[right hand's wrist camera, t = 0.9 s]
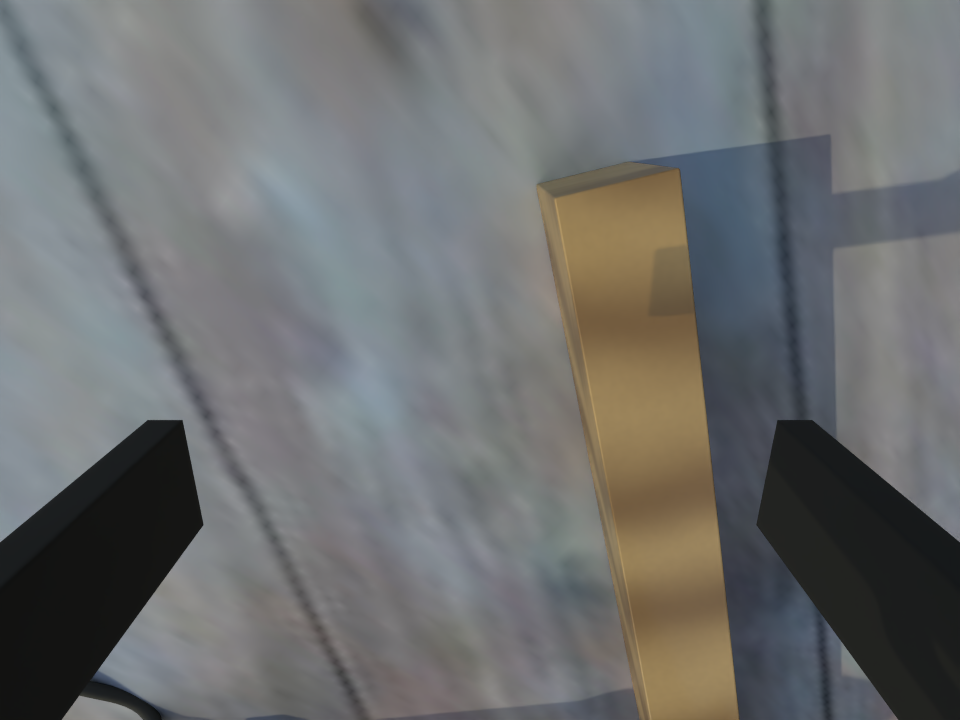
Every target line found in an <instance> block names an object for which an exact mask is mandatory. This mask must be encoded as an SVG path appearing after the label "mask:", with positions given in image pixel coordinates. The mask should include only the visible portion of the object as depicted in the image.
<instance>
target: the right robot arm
mask: <svg viewBox="0 0 960 720" xmlns="http://www.w3.org/2000/svg"><path fill="white" fill-rule="evenodd" d="M202 526H203V520H202V515H201V510H200V505H199V500H198V495H197V490H196V485H195V480H194V475H193V470H192V465H191V460H190V455H189V450H188V445H187V440H186V435H185V430H184V425H183V420H147V421H146V422H145V423H144V424H143V425H141V426H140V427H139V428H138V429H137V430H135V431H134V432H133V433H132V434H131V435H129V436H128V437H127V438H126V439H124V440H123V441H122V442H121V443H120V444H118V445H117V446H116V447H115V448H114V449H112V450H111V451H110V452H109V453H108V454H106V455H105V456H104V457H103V458H102V459H100V460H99V461H98V462H97V463H96V464H94V465H93V466H92V467H91V468H89V469H88V470H87V471H86V472H85V473H83V474H82V475H81V476H80V477H79V478H77V479H76V480H75V481H74V482H73V483H71V484H70V485H69V486H68V487H67V488H65V489H64V490H63V491H62V492H61V493H59V494H58V495H57V496H56V497H54V498H53V499H52V500H51V501H50V502H48V503H47V504H46V505H45V506H44V507H42V508H41V509H40V510H39V511H38V512H36V513H35V514H34V515H33V516H32V517H30V518H29V519H28V520H27V521H26V522H24V523H23V524H22V525H21V526H19V527H18V528H17V529H16V530H15V531H13V532H12V533H11V534H10V535H9V536H7V537H6V538H5V539H4V540H3V541H1V542H0V720H62V718H63V717H64V716H65V714H66V713H67V712H68V710H69V709H70V707H71V706H72V705H73V703H74V702H75V701H76V699H77V698H78V696H79V695H80V694H81V692H82V691H83V690H84V688H85V687H86V685H87V684H88V683H89V681H90V680H91V679H92V677H93V676H94V675H95V673H96V672H97V670H98V669H99V668H100V666H101V665H102V664H103V662H104V661H105V659H106V658H107V657H108V655H109V654H110V653H111V651H112V650H113V648H114V647H115V646H116V644H117V643H118V642H119V640H120V639H121V637H122V636H123V635H124V633H125V632H126V631H127V629H128V628H129V626H130V625H131V624H132V622H133V621H134V620H135V618H136V617H137V615H138V614H139V613H140V611H141V610H142V609H143V607H144V606H145V604H146V603H147V602H148V600H149V599H150V598H151V596H152V595H153V593H154V592H155V591H156V589H157V588H158V587H159V585H160V584H161V582H162V581H163V580H164V578H165V577H166V576H167V574H168V573H169V571H170V570H171V569H172V567H173V566H174V565H175V563H176V562H177V560H178V559H179V558H180V556H181V555H182V554H183V552H184V551H185V550H186V548H187V547H188V545H189V544H190V543H191V541H192V540H193V539H194V537H195V536H196V534H197V533H198V532H199V530H200V529H201V528H202ZM757 526H758V528H759V529H760V530H761V532H762V533H763V534H764V536H765V537H766V539H767V540H768V541H769V543H770V544H771V545H772V547H773V548H774V549H775V551H776V552H777V554H778V555H779V556H780V558H781V559H782V560H783V562H784V563H785V565H786V566H787V567H788V569H789V570H790V571H791V573H792V574H793V576H794V577H795V578H796V580H797V581H798V582H799V584H800V585H801V587H802V588H803V589H804V591H805V592H806V593H807V595H808V596H809V598H810V599H811V600H812V602H813V603H814V604H815V606H816V607H817V609H818V610H819V611H820V613H821V614H822V615H823V617H824V618H825V620H826V621H827V622H828V624H829V625H830V626H831V628H832V629H833V631H834V632H835V633H836V635H837V636H838V637H839V639H840V640H841V642H842V643H843V644H844V646H845V647H846V648H847V650H848V651H849V653H850V654H851V655H852V657H853V658H854V659H855V661H856V662H857V664H858V665H859V666H860V668H861V669H862V670H863V672H864V673H865V674H866V676H867V677H868V679H869V680H870V681H871V683H872V684H873V685H874V687H875V688H876V690H877V691H878V692H879V694H880V695H881V696H882V698H883V699H884V701H885V702H886V703H887V705H888V706H889V707H890V709H891V710H892V712H893V713H894V714H895V716H896V717H897V718H898V720H960V542H959V541H957V540H956V539H955V538H954V537H953V536H951V535H950V534H949V533H948V532H947V531H945V530H944V529H943V528H942V527H941V526H939V525H938V524H937V523H936V522H934V521H933V520H932V519H931V518H930V517H928V516H927V515H926V514H925V513H924V512H922V511H921V510H920V509H919V508H918V507H916V506H915V505H914V504H913V503H912V502H910V501H909V500H908V499H907V498H906V497H904V496H903V495H902V494H901V493H899V492H898V491H897V490H896V489H895V488H893V487H892V486H891V485H890V484H889V483H887V482H886V481H885V480H884V479H883V478H881V477H880V476H879V475H878V474H877V473H875V472H874V471H873V470H872V469H871V468H869V467H868V466H867V465H866V464H864V463H863V462H862V461H861V460H860V459H858V458H857V457H856V456H855V455H854V454H852V453H851V452H850V451H849V450H848V449H846V448H845V447H844V446H843V445H842V444H840V443H839V442H838V441H837V440H836V439H834V438H833V437H832V436H831V435H829V434H828V433H827V432H826V431H825V430H823V429H822V428H821V427H820V426H819V425H817V424H816V423H815V422H814V421H813V420H777V425H776V430H775V435H774V440H773V445H772V450H771V455H770V460H769V465H768V470H767V475H766V480H765V485H764V490H763V495H762V500H761V505H760V510H759V515H758V520H757Z"/></svg>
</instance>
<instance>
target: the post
mask: <svg viewBox="0 0 960 720" xmlns="http://www.w3.org/2000/svg"><path fill="white" fill-rule="evenodd" d="M536 187H537V192H538V197H539V203H540V208H541V213H542V218H543V223H544V228H545V234H546V239H547V244H548V249H549V254H550V259H551V265H552V270H553V275H554V280H555V285H556V290H557V296H558V301H559V306H560V311H561V316H562V321H563V327H564V332H565V337H566V342H567V347H568V352H569V358H570V363H571V368H572V373H573V378H574V383H575V389H576V394H577V399H578V404H579V409H580V414H581V420H582V425H583V430H584V435H585V440H586V445H587V451H588V456H589V461H590V466H591V471H592V476H593V482H594V487H595V492H596V497H597V502H598V507H599V513H600V518H601V523H602V528H603V533H604V538H605V544H606V549H607V554H608V559H609V564H610V569H611V575H612V580H613V585H614V590H615V595H616V600H617V606H618V611H619V616H620V621H621V626H622V631H623V637H624V642H625V647H626V652H627V657H628V662H629V668H630V673H631V678H632V683H633V688H634V693H635V699H636V704H637V709H638V714H639V719H640V720H739V711H738V702H737V692H736V683H735V674H734V665H733V655H732V646H731V637H730V628H729V619H728V609H727V600H726V591H725V582H724V572H723V563H722V554H721V545H720V535H719V526H718V517H717V508H716V498H715V489H714V480H713V471H712V461H711V452H710V443H709V434H708V424H707V415H706V406H705V397H704V387H703V378H702V369H701V360H700V350H699V341H698V332H697V323H696V313H695V304H694V295H693V286H692V276H691V267H690V258H689V249H688V239H687V230H686V221H685V212H684V202H683V193H682V184H681V175H680V169H679V168H673V167H665V166H658V165H650V164H642V163H634V162H626V163H622V164H618V165H614V166H610V167H606V168H601V169H597V170H593V171H589V172H585V173H581V174H577V175H573V176H569V177H565V178H561V179H556V180H552V181H548V182H544V183H540V184H537V185H536Z"/></svg>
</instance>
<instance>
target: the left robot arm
mask: <svg viewBox="0 0 960 720" xmlns="http://www.w3.org/2000/svg"><path fill="white" fill-rule="evenodd" d="M80 696H84V697H89V698H93V699H98V700H103V701H108V702H112V703H116V704H119V705H122V706H125V707H127V708H129V709H131V710H133V711H134V712H136V713H137V714H138V715H139V716H140V717H141V718H142V719H143V720H162V719H161V716H160V714H159V713H158V712H157V711H156V710H155V709H154V708H153V707H152V706H150V705H149V704H148V703H146V702H144V701H143V700H141V699H139V698H137V697H136V696H134V695H132V694H130V693H128V692H126V691H123V690H121V689H118V688H116V687H113V686H110V685H105V684H100V683H96V682H91V681H89V683H88V684H87V685H86V687H85V688H84V690H83V691H82V692H81V694H80Z"/></svg>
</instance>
